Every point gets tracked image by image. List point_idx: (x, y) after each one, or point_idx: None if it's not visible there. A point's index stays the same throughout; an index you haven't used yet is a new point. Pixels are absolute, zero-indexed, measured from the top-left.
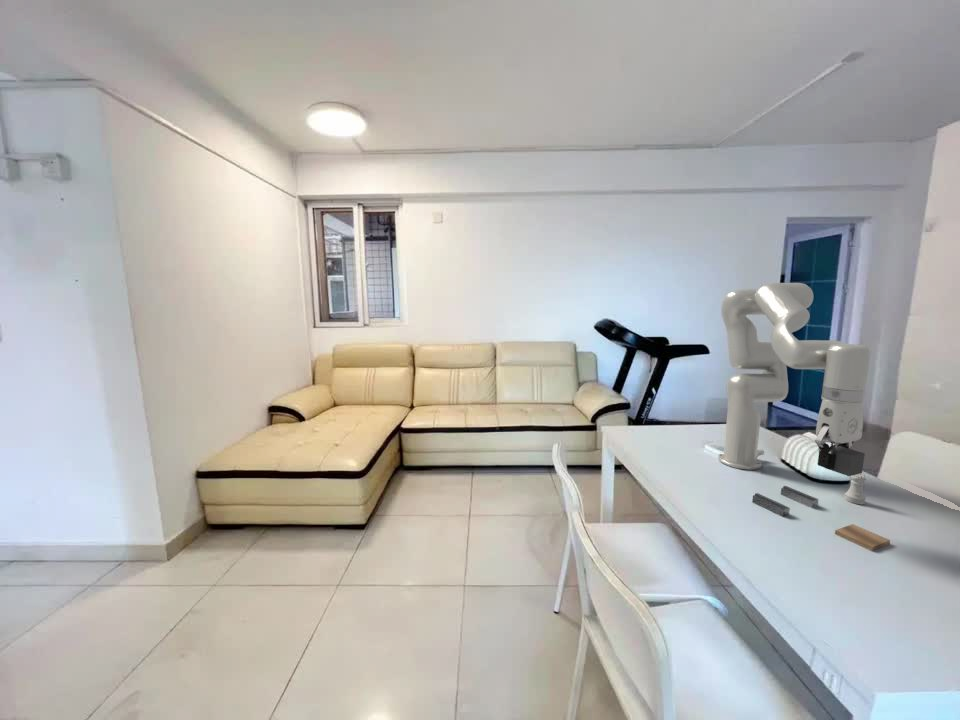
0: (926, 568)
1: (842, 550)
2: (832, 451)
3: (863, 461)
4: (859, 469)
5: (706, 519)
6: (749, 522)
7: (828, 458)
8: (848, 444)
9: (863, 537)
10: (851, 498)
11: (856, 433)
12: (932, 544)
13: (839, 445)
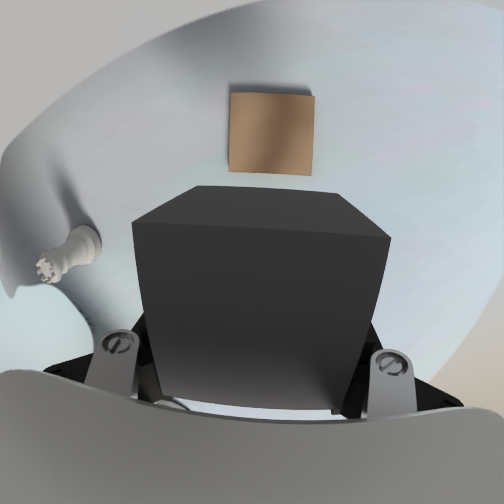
0: (274, 25)
1: (374, 133)
2: (394, 369)
3: (168, 201)
4: (223, 191)
5: (463, 322)
6: (423, 289)
7: (375, 338)
8: (132, 380)
9: (283, 125)
10: (95, 245)
11: (61, 489)
12: (140, 69)
13: (153, 397)
